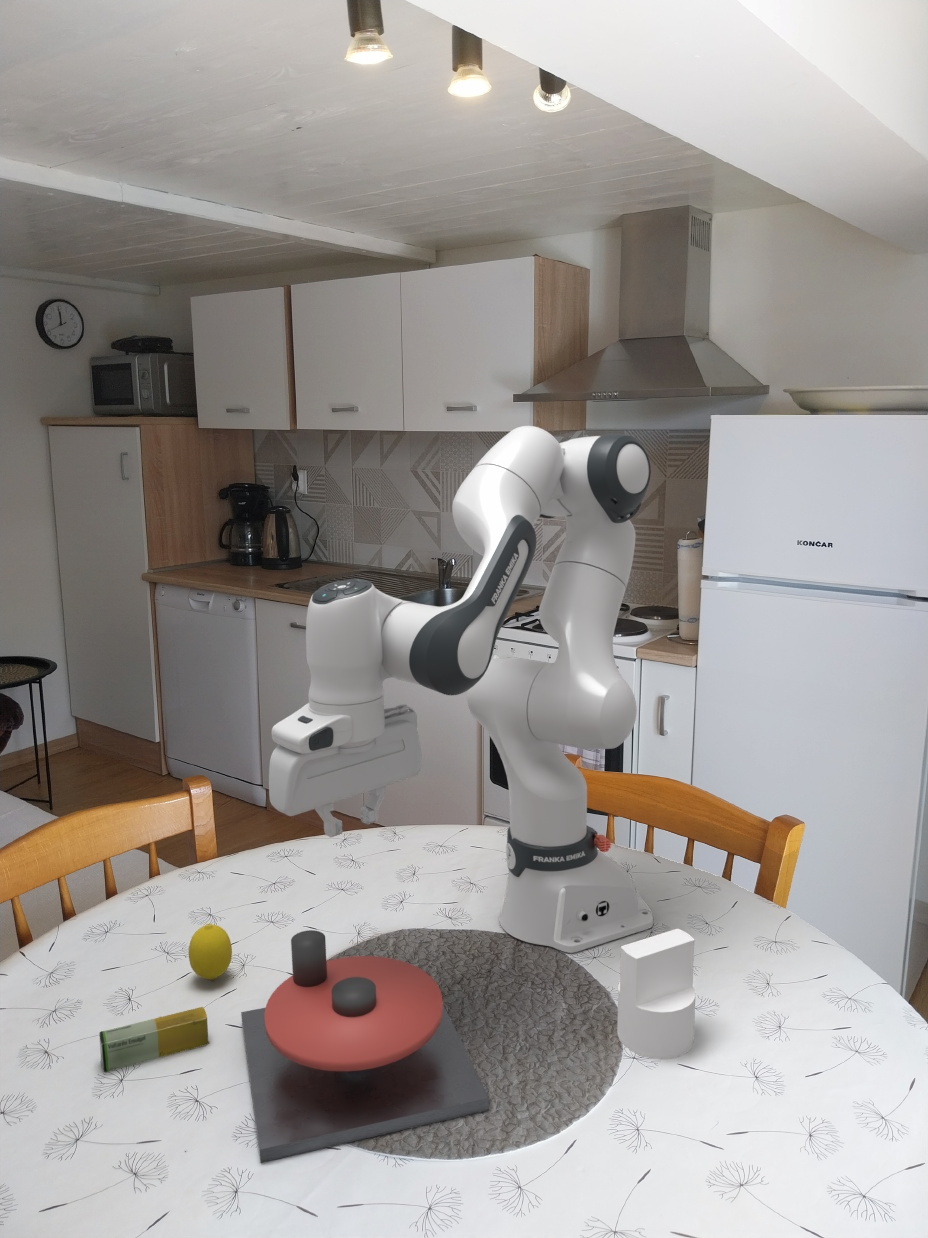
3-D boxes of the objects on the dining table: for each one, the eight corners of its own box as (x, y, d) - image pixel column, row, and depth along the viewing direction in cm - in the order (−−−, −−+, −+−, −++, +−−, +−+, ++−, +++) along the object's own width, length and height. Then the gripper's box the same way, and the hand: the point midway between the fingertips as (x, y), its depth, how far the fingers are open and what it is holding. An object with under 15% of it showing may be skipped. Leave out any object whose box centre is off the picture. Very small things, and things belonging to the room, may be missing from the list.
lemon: (222, 993, 124) (218, 937, 122) (183, 989, 125) (178, 933, 123) (240, 970, 129) (237, 916, 128) (202, 966, 130) (198, 912, 129)
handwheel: (478, 1009, 109) (478, 959, 108) (344, 1099, 95) (341, 1043, 93) (362, 947, 122) (361, 902, 121) (229, 1018, 108) (225, 968, 107)
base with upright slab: (648, 1068, 108) (651, 972, 106) (602, 1025, 116) (603, 935, 114) (709, 1044, 112) (713, 951, 110) (660, 1004, 120) (663, 917, 118)
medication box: (102, 1075, 109) (99, 1044, 108) (100, 1061, 111) (97, 1031, 110) (210, 1046, 114) (208, 1016, 113) (205, 1033, 116) (203, 1004, 115)
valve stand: (430, 987, 124) (429, 945, 123) (489, 1110, 102) (488, 1059, 101) (241, 1023, 118) (238, 978, 116) (260, 1163, 95) (257, 1109, 94)
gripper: (399, 696, 122) (402, 798, 125) (258, 731, 109) (265, 844, 111) (431, 706, 118) (434, 812, 120) (288, 744, 104) (294, 862, 107)
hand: (351, 828), depth 116 cm, fingers open, 4 cm apart
